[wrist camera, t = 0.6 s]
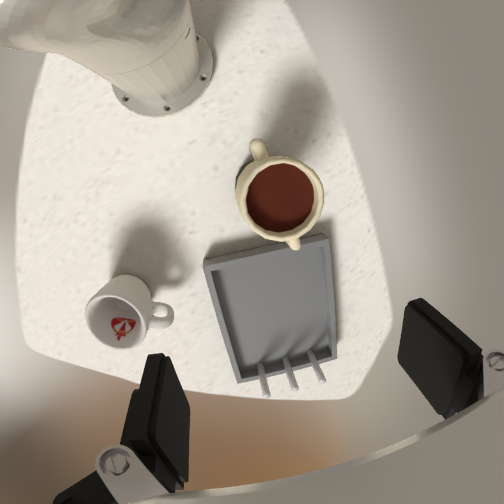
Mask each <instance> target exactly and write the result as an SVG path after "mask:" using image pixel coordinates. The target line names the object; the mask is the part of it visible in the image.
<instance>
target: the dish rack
mask: <svg viewBox="0 0 504 504" xmlns="http://www.w3.org/2000/svg"><path fill="white" fill-rule="evenodd" d="M299 239H300V243H301V247H300V249H299V250H293V249H291V248H290V246H289V245H288V244H287V243H286V241H285V242H281V243H276V244H272V245H267V246H263V247H258V248H254V249H249V250H245V251H240V252H236V253H231V254H227V255H222V256H218V257H213V258H209V259H204V260H203V270H204V273H205V277H206V281H207V284H208V288H209V291H210V295H211V299H212V302H213V305H214V309H215V312H216V316H217V319H218V323H219V326H220V329H221V333H222V336H223V339H224V342H225V346H226V349H227V352H228V355H229V358H230V362H231V365H232V368H233V371H234V374H235V377H236V380H237V383H243V382H248V381H252V380H257V379H260V384H261V388H262V393H263V397H264V398H269V397H270V391H269V387H268V383H267V379H266V377H270V376H275V375H279V374H283V373H286V374H287V377H288V380H289V383H290V386H291V389H292V391H297V390H298V389H299V388H298V385H297V382H296V379H295V376H294V373H293V371H295V370H299V369H303V368H306V367H310V366H312V367H313V369H314V371H315V374H316V376H317V378H318V380H319V383H320V384H324V383H325V382H326V379H325V376H324V374H323V372H322V370H321V368H320V366H319V364H321V363H324V362H327V361H331V360H334V359H337V341H336V320H335V303H334V289H333V276H332V264H331V254H330V244H329V238H327V237H326V236H325V235H324V234H317V235H313V236H308V237H304V238H299Z"/></svg>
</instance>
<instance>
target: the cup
mask: <svg viewBox="0 0 504 504" xmlns="http://www.w3.org/2000/svg"><path fill="white" fill-rule="evenodd" d="M157 312H163V313H165V314H167V316H166V317H156V316H154V315H153V314H154V313H157ZM85 320H86V324H87V327H88V329H89V330H90V332H91V334H92V335H93V336H94V337H95V338H96V339H97V340H98V341H99V342H101V343H102V344H104V345H105V346H107V347H110V348H113V349H117V350H129V349H132V348H135V347H137V346H138V345H139V344H141V343H142V341H143V340H144V338H145V336H146V334H147V331H148V329H150V328H153V329H163V328H167V327H169V326H170V325H171V324H172V322H173V320H174V311H173V309H172V307H171V306H170V305H168V304H165V303H160V302H154V301H152V300H151V294H150V291H149V289H148V287H147V286H146V284H145V283H144V282H143V281H142V280H141V279H139V278H137V277H135V276H132V275H119V276H117V277H114V278H113V279H111V280H110V281H109V282H108V283H107V284H106V285H105V286H104V287H103V288H102V289H100V290H99V291H98V292H97V293H96V294H95V295H94V296H93V297H92V298H91V299H90V300H89V302H88V304H87V306H86V309H85Z"/></svg>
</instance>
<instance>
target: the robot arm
mask: <svg viewBox="0 0 504 504" xmlns="http://www.w3.org/2000/svg"><path fill="white" fill-rule="evenodd" d="M196 40H198V41H196ZM0 46H2V47H6V48H12V49H18V50H27V51H39V52H49V53H56V54H59V55H62V56H65V57H67V58H69V59H71V60H73V61H75V62H77V63H79V64H81V65H82V66H84V67H85V68H87V69H89V70H90V71H92V72H94V73H95V74H97V75H99V76H100V77H102V78H104V79H105V80H107V81H109V82H110V83H111V84H112V88H113V92H114V94H115V95H116V97H117V99H118V100H119V101H120V103H121V104H122V105H123V106H125V107H126V108H127V109H129V110H130V111H132V112H134V113H137V114H139V115H142V116H148V117H163V116H168V115H172V114H175V113H177V112H180V111H182V110H184V109H185V108H187V107H189V106H190V105H191V104H193V103H194V102H195V101H196V100H197V99H198V98H199V97H200V96H201V95H202V94H203V92H204V91H205V89H206V88H207V86H208V84H209V82H210V79H211V76H212V70H213V58H212V53H211V50H210V48H209V45H208V43H207V42H206V41H205V39H204V38H203V37H202V36H201V35H200V34H198V33H197V32H196V31H195V28H194V22H193V16H192V9H191V3H190V0H0ZM202 78H206V79H205V80H204V81H202V80H201V79H202ZM127 98H129V100H128V101H126V99H127ZM168 107H170V110H169V111H167V110H166V109H167V108H168ZM481 352H482V349H481V348H480V347H479V346H478V345H477V344H476V343H474V342H473V341H472V340H471V339H470V338H469V337H468V336H467V335H465V334H464V333H463V332H462V331H461V330H460V329H459V328H457V327H456V326H455V325H454V324H453V323H452V322H450V321H449V320H448V319H447V318H446V317H444V316H443V315H442V314H441V313H440V312H439V311H437V310H436V309H435V308H434V307H433V306H431V305H430V304H429V303H428V302H427V301H425V300H424V299H423V298H418V299H415V300H412V301H410V302H409V303H408V305H407V306H406V307H405V311H404V319H403V326H402V333H401V339H400V345H399V351H398V362H399V364H400V365H401V366H402V367H403V369H404V370H405V371H406V373H407V374H408V375H409V377H410V378H411V379H412V380H413V382H414V383H415V384H416V386H417V387H418V388H419V390H420V391H421V392H422V394H423V395H424V396H425V398H426V399H427V400H428V401H429V403H430V404H431V406H432V407H433V408H434V410H435V411H436V412H437V413H438V414H439V415H442V416H443V417H444V419H445V420H444V421H442V422H440V423H438V424H436V425H435V426H433V427H431V428H429V429H427V430H425V431H422V432H420V433H418V434H416V435H414V436H412V437H410V438H407V439H405V440H403V441H401V442H398V443H396V444H394V445H391V446H389V447H387V448H384V449H381V450H379V451H377V452H374V453H371V454H368V455H365V456H363V457H360V458H357V459H354V460H351V461H348V462H345V463H342V464H338V465H335V466H332V467H328V468H325V469H321V470H318V471H313V472H310V473H306V474H301V475H297V476H293V477H288V478H283V479H278V480H273V481H268V482H262V483H256V484H249V485H242V486H235V487H228V488H218V489H208V490H207V489H206V490H197V491H185V492H177V493H175V490H183V489H184V482H188V475H189V474H188V470H189V429H190V406H189V403H188V401H187V398H186V396H185V394H184V391H183V389H182V386H181V384H180V381H179V379H178V377H177V374H176V372H175V369H174V366H173V364H172V361H171V359H170V357H169V356H166V357H165V355H164V354H163V353H159V354H149V355H148V357H147V360H146V364H145V368H144V371H143V375H142V379H141V383H140V388H139V389H135V390H134V391H133V393H132V396H131V400H130V404H129V408H128V412H127V416H126V420H125V424H124V429H123V433H122V437H121V442H120V445H111V446H109V447H106V448H104V449H103V450H102V451H100V453H99V454H98V456H97V458H96V460H95V467H96V471H95V472H93V473H91V474H90V475H88V476H87V477H85V478H84V479H82V480H81V481H79V482H77V483H76V484H74V485H73V486H71V487H69V488H68V489H66V490H65V491H63V492H61V493H60V494H58V495H57V496H56V497H55V499H54V501H53V504H504V351H502V350H498V349H497V350H496V349H495V350H490V351H488V352H487V353H485V355H484V356H483V355H482V354H481ZM456 412H457V414H455V413H456Z"/></svg>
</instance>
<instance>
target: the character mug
mask: <svg viewBox="0 0 504 504" xmlns="http://www.w3.org/2000/svg"><path fill="white" fill-rule="evenodd" d="M250 150H251V152H252V155H253V157H254V160H251V161H250V162H248V163H247V164H246V165H244V166H243V167H242V168H241V169H240V171H239V173H238V174H237V176H236V184H235V189H236V190H235V193H236V199H237V204H238V207H239V209H240V212H241V214H242V216H243V218H244V219H245V221H246V222H247V224H248V225H249V227H250V228H251V229H252V230H253V231H254V232H256V233H257V234H259V235H260V236H262V237H264V238H265V239H269V240H274V241H280V242H283V241H286V243H287V244H288V245H289V246H290V248H291V249H293V250H299V249H300V247H301V243H300V239H299V237H300V236H302V235H303V234H305V233H306V232H308V231H309V230H311V228H312V227H313V226H314V224H315V223H316V222H317V220H318V219H319V217H320V215H321V212H322V208H323V205H324V190H323V185H322V183H321V181H320V179H319V177H318V176H317V174H316V173H315V172H314V170H313V169H311V168H310V167H308V166H307V165H305V164H304V163H302V162H301V161H299V160H296V159H293V158H291V157H286V156H270V157H269V154H268V152H267V149H266V146H265V144H264V142H263V141H262V140H261V139H253V140H252V141H251V142H250Z"/></svg>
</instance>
